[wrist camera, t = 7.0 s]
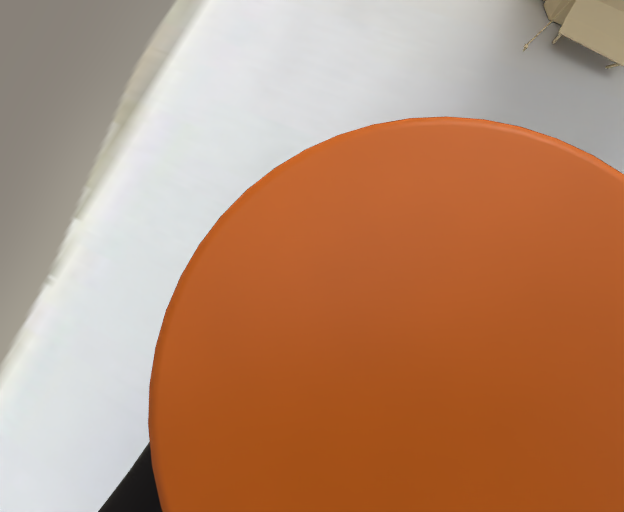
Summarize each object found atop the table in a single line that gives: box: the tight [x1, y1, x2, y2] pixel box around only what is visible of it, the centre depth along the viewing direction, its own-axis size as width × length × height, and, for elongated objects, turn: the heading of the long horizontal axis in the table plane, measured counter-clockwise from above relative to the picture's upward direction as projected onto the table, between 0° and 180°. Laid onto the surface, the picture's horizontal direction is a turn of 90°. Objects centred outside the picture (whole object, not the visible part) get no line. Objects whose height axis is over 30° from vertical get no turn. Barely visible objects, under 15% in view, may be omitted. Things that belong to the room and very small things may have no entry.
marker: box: [148, 117, 624, 512], centre depth 9 cm, size 3×3×13 cm
